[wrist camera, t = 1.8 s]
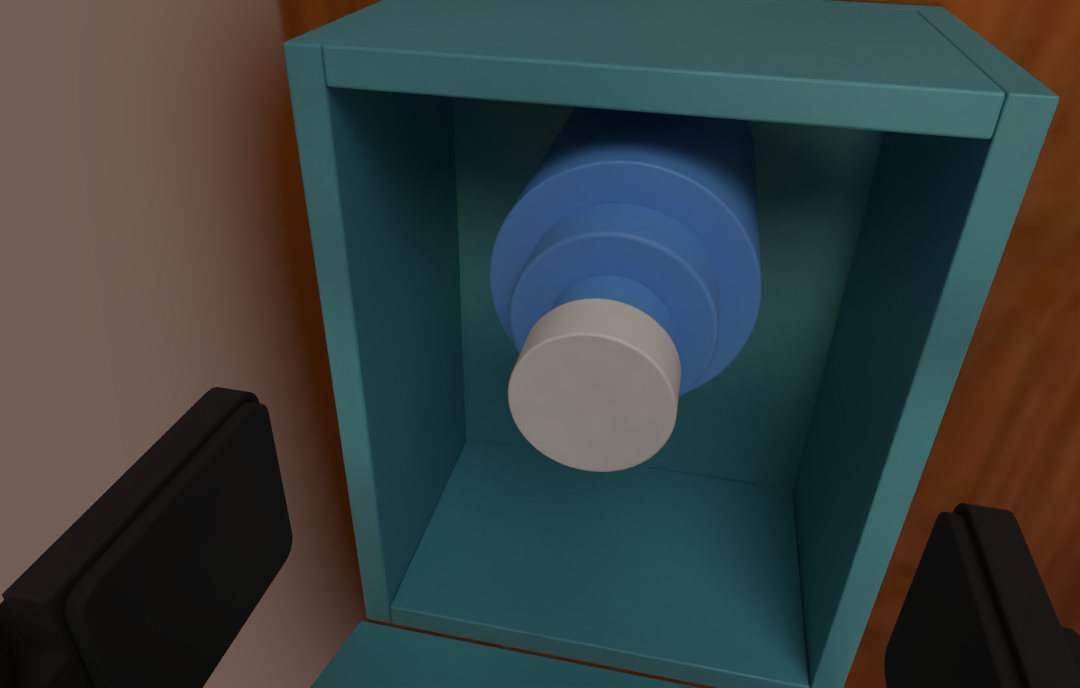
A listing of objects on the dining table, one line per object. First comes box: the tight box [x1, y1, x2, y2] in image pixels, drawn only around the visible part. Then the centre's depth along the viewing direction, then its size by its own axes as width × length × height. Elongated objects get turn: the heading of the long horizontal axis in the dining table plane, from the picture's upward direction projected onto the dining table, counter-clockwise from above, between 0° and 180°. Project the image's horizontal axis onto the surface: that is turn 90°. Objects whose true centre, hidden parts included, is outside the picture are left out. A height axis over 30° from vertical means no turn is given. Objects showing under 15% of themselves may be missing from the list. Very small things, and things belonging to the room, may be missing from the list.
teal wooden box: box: [283, 0, 1059, 688], centre depth 22 cm, size 17×14×9 cm
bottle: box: [489, 107, 761, 472], centre depth 18 cm, size 6×6×12 cm
